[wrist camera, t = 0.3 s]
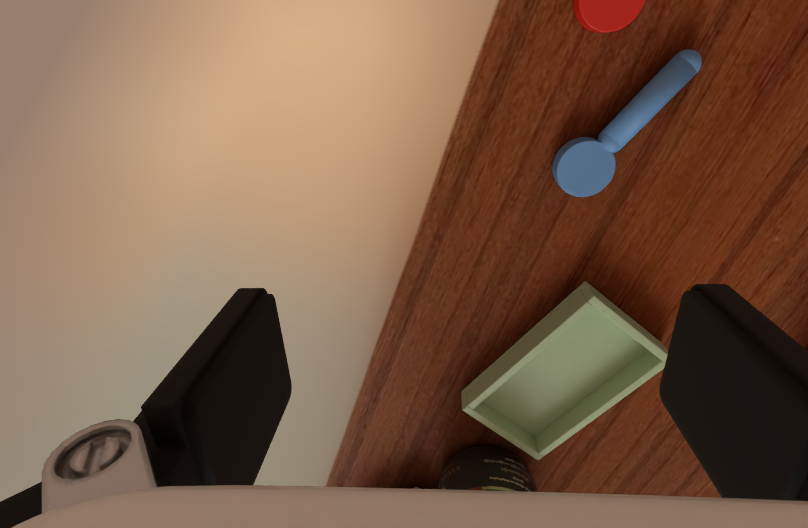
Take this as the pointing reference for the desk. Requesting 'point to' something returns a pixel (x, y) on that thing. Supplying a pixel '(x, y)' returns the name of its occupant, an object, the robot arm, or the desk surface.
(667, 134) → the desk surface
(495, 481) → the jar
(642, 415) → the desk surface
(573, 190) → the blue spoon
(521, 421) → the tray
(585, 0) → the red spoon
